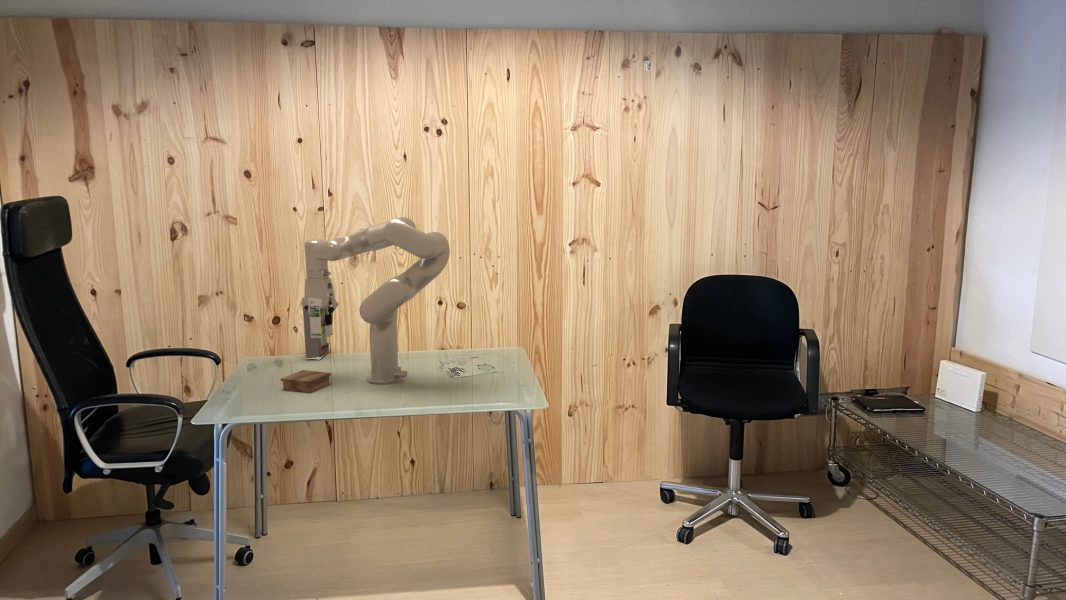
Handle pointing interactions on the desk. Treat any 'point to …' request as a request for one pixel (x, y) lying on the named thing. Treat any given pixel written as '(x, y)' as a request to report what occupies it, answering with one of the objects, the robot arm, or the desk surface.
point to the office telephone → (453, 370)
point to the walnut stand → (306, 381)
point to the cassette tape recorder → (313, 340)
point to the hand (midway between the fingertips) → (321, 323)
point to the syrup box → (318, 319)
